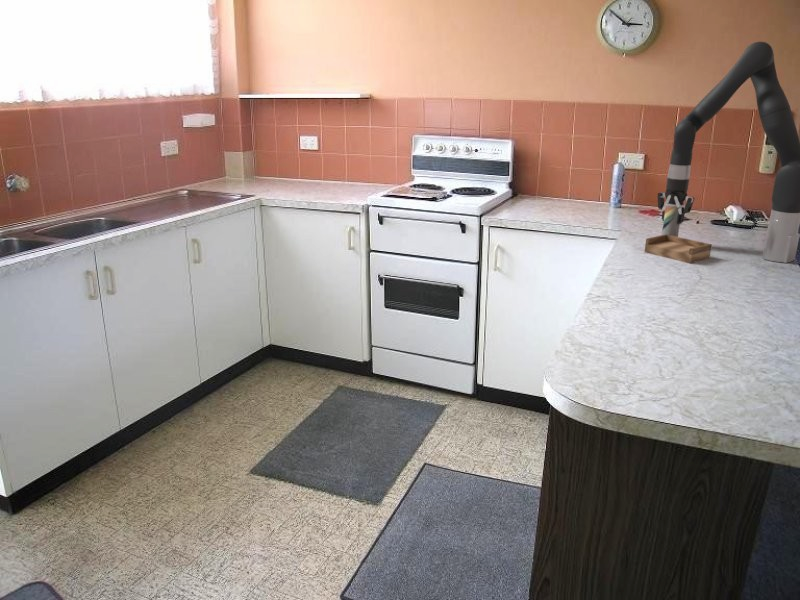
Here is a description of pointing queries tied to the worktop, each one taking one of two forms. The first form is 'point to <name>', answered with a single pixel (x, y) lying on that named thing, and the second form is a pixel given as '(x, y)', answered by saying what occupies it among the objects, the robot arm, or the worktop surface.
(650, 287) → the worktop surface
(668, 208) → the lotion bottle
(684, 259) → the wooden serving tray
